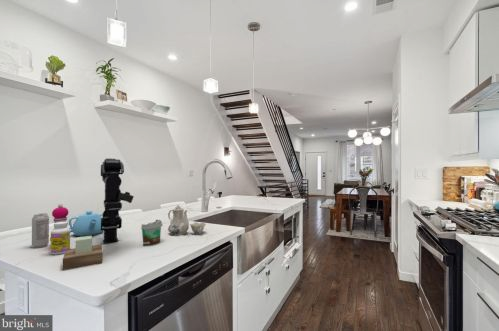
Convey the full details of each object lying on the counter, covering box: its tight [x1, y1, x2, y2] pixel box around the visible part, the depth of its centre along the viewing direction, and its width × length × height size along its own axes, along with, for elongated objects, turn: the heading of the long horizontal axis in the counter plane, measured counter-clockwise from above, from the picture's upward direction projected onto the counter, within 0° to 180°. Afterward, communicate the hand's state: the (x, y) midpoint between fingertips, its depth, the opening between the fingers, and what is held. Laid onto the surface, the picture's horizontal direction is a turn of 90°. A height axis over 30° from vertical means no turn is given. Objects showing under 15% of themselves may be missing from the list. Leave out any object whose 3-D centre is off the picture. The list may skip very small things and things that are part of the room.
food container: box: [140, 219, 163, 247], centre depth 117 cm, size 12×6×10 cm, turn 168°
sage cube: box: [75, 235, 93, 254], centre depth 94 cm, size 5×5×5 cm
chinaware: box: [167, 204, 207, 237], centre depth 137 cm, size 28×17×17 cm, turn 57°
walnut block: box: [62, 244, 103, 271], centre depth 94 cm, size 12×12×4 cm
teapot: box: [68, 210, 104, 237], centre depth 133 cm, size 20×20×13 cm
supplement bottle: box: [50, 221, 71, 256], centre depth 104 cm, size 7×7×13 cm
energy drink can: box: [31, 212, 50, 249], centre depth 113 cm, size 6×6×15 cm
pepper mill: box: [49, 203, 69, 242], centre depth 111 cm, size 7×7×20 cm
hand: (112, 222), depth 108 cm, fingers open, 9 cm apart
